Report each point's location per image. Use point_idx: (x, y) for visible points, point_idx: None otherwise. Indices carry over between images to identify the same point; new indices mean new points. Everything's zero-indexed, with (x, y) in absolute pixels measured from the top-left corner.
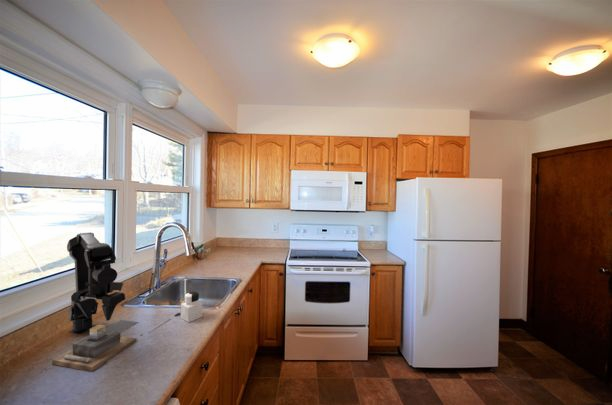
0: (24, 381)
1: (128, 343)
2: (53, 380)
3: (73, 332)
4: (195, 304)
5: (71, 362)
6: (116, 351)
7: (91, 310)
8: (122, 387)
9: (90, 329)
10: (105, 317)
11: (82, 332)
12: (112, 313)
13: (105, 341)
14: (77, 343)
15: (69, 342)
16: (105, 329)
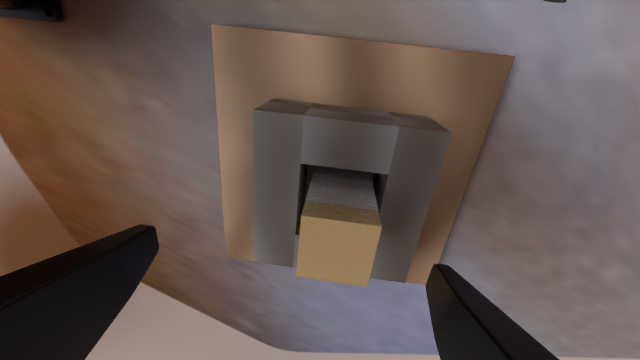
0: (246, 307)
1: (489, 120)
2: (330, 304)
3: (1, 14)
4: None
5: None
6: (463, 191)
7: (83, 264)
8: (595, 326)
9: (304, 273)
10: (444, 348)
11: (53, 5)
12: (516, 326)
13: (420, 230)
14: (277, 259)
15: (109, 104)
16: (377, 206)
